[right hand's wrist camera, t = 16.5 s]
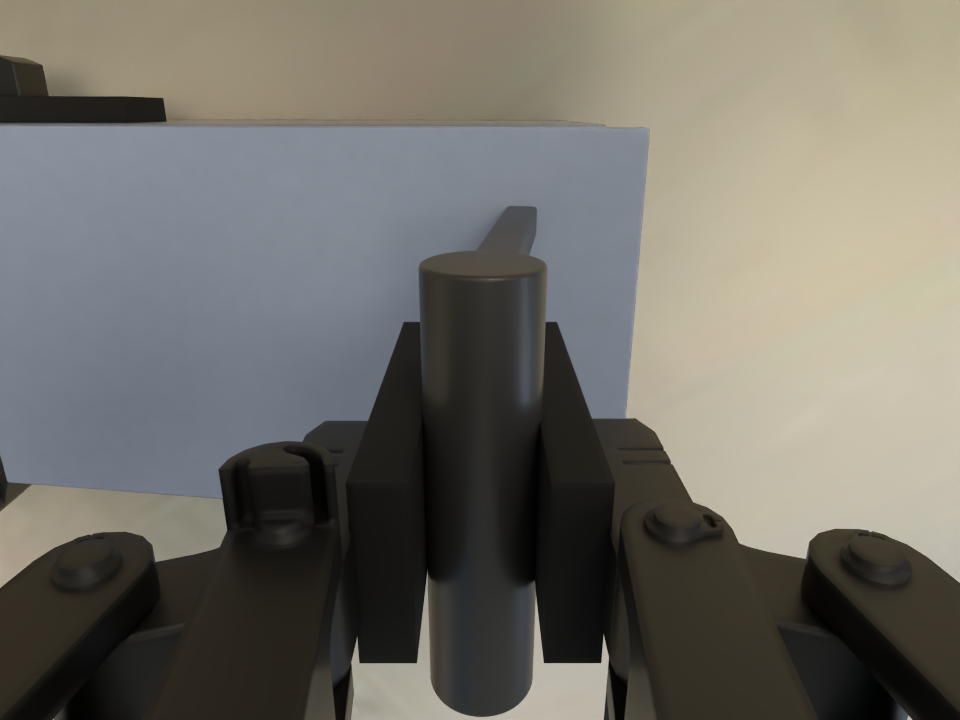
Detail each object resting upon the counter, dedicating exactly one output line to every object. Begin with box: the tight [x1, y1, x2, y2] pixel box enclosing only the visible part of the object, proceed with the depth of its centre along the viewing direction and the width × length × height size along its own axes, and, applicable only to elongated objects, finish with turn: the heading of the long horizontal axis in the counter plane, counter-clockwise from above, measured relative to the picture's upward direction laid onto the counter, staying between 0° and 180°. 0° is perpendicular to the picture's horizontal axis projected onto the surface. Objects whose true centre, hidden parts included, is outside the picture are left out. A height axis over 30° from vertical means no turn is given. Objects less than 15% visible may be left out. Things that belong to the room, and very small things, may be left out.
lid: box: [0, 124, 650, 717], centre depth 14 cm, size 18×10×9 cm, turn 90°
